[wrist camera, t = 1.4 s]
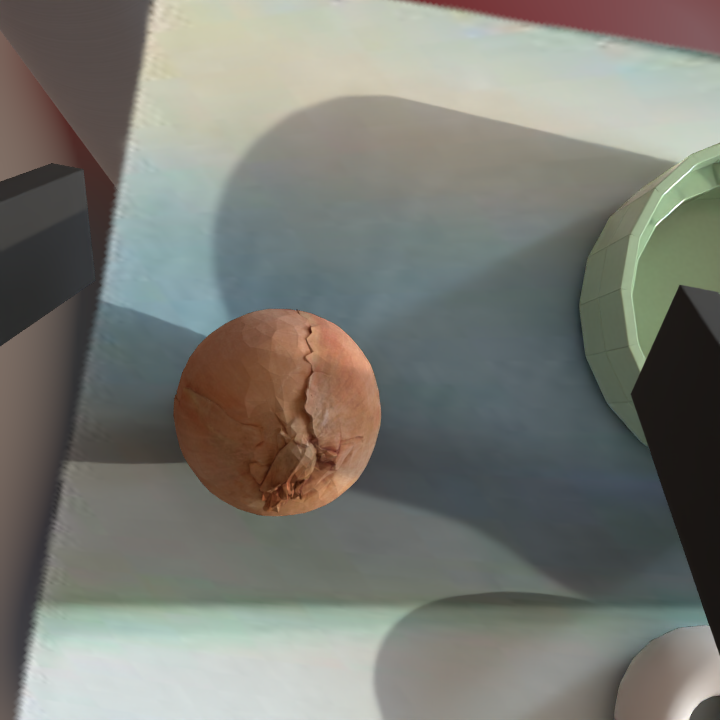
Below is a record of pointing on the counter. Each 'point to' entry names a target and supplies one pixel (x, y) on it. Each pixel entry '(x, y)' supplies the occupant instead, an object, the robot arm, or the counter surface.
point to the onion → (277, 412)
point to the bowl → (648, 272)
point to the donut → (670, 676)
